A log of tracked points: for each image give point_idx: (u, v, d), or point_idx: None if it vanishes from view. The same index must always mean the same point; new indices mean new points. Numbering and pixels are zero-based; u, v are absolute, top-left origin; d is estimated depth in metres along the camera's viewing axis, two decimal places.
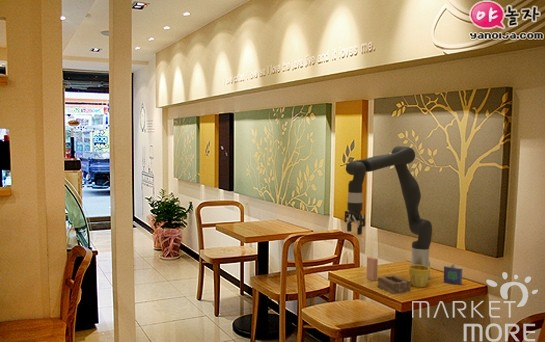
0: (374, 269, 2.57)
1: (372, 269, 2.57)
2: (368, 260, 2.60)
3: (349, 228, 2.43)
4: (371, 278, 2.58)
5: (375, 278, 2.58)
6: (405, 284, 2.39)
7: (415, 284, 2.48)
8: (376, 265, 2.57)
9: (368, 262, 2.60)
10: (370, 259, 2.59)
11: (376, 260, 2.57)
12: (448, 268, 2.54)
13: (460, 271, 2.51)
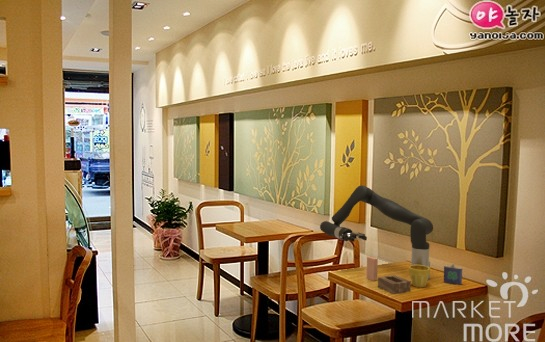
0: (374, 269, 2.57)
1: (372, 269, 2.57)
2: (368, 260, 2.60)
3: (363, 238, 2.72)
4: (371, 278, 2.58)
5: (375, 278, 2.58)
6: (405, 284, 2.39)
7: (415, 284, 2.48)
8: (376, 265, 2.57)
9: (368, 262, 2.60)
10: (370, 259, 2.59)
11: (376, 260, 2.57)
12: (448, 268, 2.54)
13: (460, 271, 2.51)
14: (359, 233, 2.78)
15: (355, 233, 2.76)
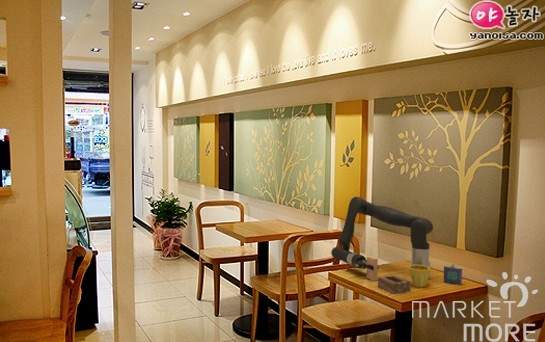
0: (374, 269, 2.57)
1: None
2: (368, 260, 2.60)
3: None
4: (371, 278, 2.58)
5: (375, 278, 2.58)
6: (405, 284, 2.39)
7: (415, 284, 2.48)
8: (376, 265, 2.57)
9: (368, 262, 2.60)
10: (370, 259, 2.59)
11: (376, 260, 2.57)
12: (448, 268, 2.54)
13: (460, 271, 2.51)
14: None
15: None
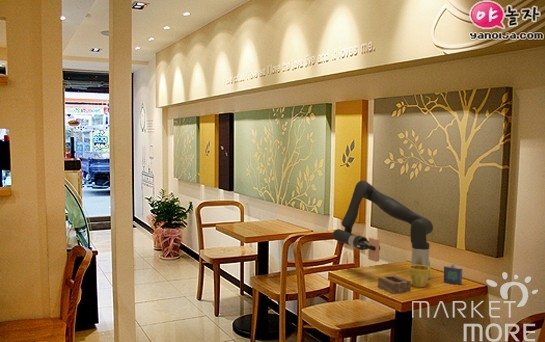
0: (376, 249, 2.55)
1: None
2: (370, 241, 2.58)
3: None
4: (373, 259, 2.57)
5: (377, 259, 2.56)
6: (405, 284, 2.39)
7: (415, 284, 2.48)
8: (378, 245, 2.55)
9: (370, 243, 2.59)
10: (372, 240, 2.57)
11: (378, 240, 2.55)
12: (448, 268, 2.54)
13: (460, 271, 2.51)
14: None
15: None
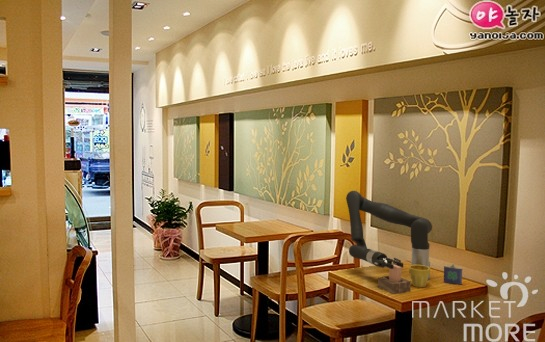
0: (397, 278, 2.41)
1: (395, 278, 2.41)
2: None
3: (400, 265, 2.44)
4: None
5: None
6: (405, 284, 2.39)
7: (415, 284, 2.48)
8: (399, 274, 2.41)
9: (391, 270, 2.44)
10: None
11: (400, 268, 2.41)
12: (448, 268, 2.54)
13: (460, 271, 2.51)
14: (395, 258, 2.51)
15: (390, 259, 2.48)
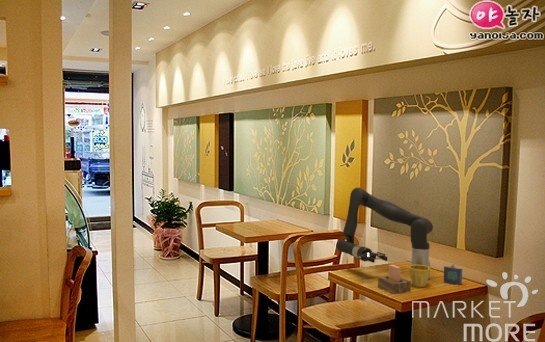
0: (397, 278, 2.41)
1: (395, 278, 2.41)
2: (390, 269, 2.44)
3: (384, 258, 2.56)
4: None
5: None
6: (405, 284, 2.39)
7: (415, 284, 2.48)
8: (399, 274, 2.41)
9: (390, 271, 2.44)
10: (392, 268, 2.43)
11: (399, 269, 2.41)
12: (448, 268, 2.54)
13: (460, 271, 2.51)
14: (379, 253, 2.63)
15: (375, 253, 2.60)
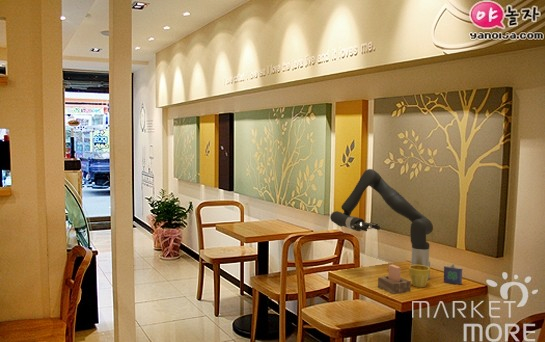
0: (397, 278, 2.41)
1: (395, 278, 2.41)
2: (390, 269, 2.44)
3: (376, 227, 2.61)
4: None
5: None
6: (405, 284, 2.39)
7: (415, 284, 2.48)
8: (399, 274, 2.41)
9: (390, 271, 2.44)
10: (392, 268, 2.43)
11: (399, 269, 2.41)
12: (448, 268, 2.54)
13: (460, 271, 2.51)
14: (371, 223, 2.68)
15: (367, 223, 2.65)
